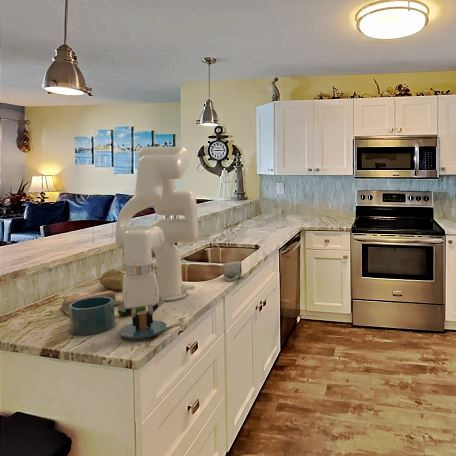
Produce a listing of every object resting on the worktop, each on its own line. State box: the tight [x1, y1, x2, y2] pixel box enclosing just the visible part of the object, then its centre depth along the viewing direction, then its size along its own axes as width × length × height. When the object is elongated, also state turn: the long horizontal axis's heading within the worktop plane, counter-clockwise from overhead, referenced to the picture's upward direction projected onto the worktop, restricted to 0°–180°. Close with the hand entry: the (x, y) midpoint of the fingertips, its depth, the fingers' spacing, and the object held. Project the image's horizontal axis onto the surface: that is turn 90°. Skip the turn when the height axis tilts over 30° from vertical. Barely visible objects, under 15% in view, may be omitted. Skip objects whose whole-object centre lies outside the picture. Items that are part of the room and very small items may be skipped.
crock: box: [68, 297, 116, 336], centre depth 134 cm, size 13×13×8 cm
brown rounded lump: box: [99, 269, 126, 290], centre depth 179 cm, size 13×8×20 cm
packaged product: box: [60, 290, 122, 316], centre depth 154 cm, size 18×5×10 cm
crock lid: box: [118, 310, 167, 340], centre depth 129 cm, size 14×14×6 cm
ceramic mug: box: [222, 261, 243, 282], centre depth 193 cm, size 11×8×8 cm
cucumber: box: [117, 306, 147, 317], centre depth 147 cm, size 9×3×3 cm, turn 117°
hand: (143, 326), depth 129 cm, fingers closed on crock lid, 3 cm apart
